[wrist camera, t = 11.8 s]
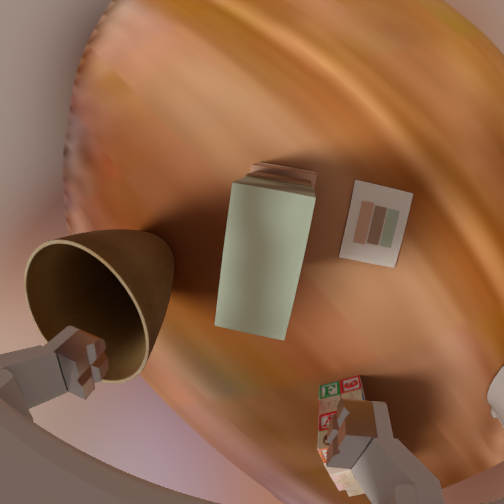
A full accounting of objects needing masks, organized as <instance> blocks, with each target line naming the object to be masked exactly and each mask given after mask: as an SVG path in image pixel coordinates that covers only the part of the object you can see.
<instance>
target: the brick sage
mask: <svg viewBox="0 0 504 504" xmlns="http://www.w3.org/2000/svg"><path fill="white" fill-rule="evenodd" d="M315 200H316V196H315V192H314V188H312V187H306V186H301V185H296V184H291V183H285V182H280V181H274V180H269V179H263V178H257V177H251V176H246V177H244V178H241V179H239V180H237V181H235V182H233V183H232V189H231V196H230V203H229V211H228V218H227V226H226V233H225V241H224V249H223V257H222V265H221V274H220V282H219V290H218V299H217V308H216V317H215V326H219V327H224V328H228V329H232V330H237V331H241V332H246V333H250V334H255V335H260V336H264V337H269V338H274V339H279V340H284V339H285V335H286V331H287V327H288V323H289V319H290V315H291V311H292V306H293V302H294V298H295V294H296V289H297V285H298V281H299V276H300V272H301V267H302V263H303V258H304V254H305V249H306V244H307V240H308V235H309V230H310V225H311V220H312V215H313V210H314V205H315Z"/></svg>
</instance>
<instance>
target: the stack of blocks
mask: <svg viewBox="0 0 504 504" xmlns="http://www.w3.org/2000/svg"><path fill="white" fill-rule="evenodd" d="M341 398H345V399H354V400H365V401H366V398H365V394H364V390H363V385H362V381H361V378H360V375H358V376H355V377H351V378H348V379H344V380H340V381H337V382H334V383H330V384H325V385H321V386H319V416H318V446H317V450H318V452H319V454H320V456H321V458H322V460H323V462H324V465H325V467H326V457H327V449H328V448H329V446H330V444H329V443H328V442H327V430H328V426H329V422H330V420H331V417H332V415H333V414H335V413H337V405H338V403H339V401H340V399H341ZM326 469H327V471H328V472H329V475H330V477H331V478H332V480H333V482H335V485H336V487H337V488H338V490H339V491H341V490H346V491H347V494H348V496H354V495H359V494H364V493H365V492H364V490H363V489H362V487H361V486H360V484H359V483H358V481H357V479H356V478H355V476H354V475H353V473H352V472H351V469H343V468H333V467H326Z"/></svg>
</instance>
